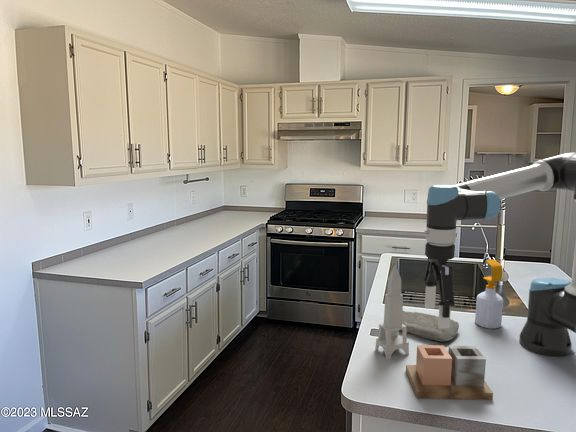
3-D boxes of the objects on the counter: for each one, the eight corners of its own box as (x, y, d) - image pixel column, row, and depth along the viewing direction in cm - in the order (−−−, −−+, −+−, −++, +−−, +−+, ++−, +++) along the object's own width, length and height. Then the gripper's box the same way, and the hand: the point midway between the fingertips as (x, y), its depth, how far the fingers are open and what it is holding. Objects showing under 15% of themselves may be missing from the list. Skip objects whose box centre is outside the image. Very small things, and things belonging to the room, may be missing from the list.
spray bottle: (489, 317, 170) (494, 256, 166) (506, 327, 161) (512, 263, 157) (469, 320, 168) (474, 258, 163) (486, 330, 159) (491, 265, 155)
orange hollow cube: (442, 370, 128) (443, 345, 127) (450, 385, 121) (452, 358, 119) (415, 370, 129) (417, 345, 127) (422, 384, 121) (423, 358, 120)
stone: (462, 320, 158) (449, 335, 146) (461, 332, 159) (449, 348, 147) (394, 305, 173) (378, 317, 161) (394, 315, 174) (378, 328, 162)
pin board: (473, 372, 131) (475, 341, 129) (492, 399, 117) (495, 365, 116) (405, 370, 132) (407, 340, 130) (417, 398, 118) (418, 364, 117)
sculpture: (375, 349, 146) (377, 262, 140) (396, 345, 149) (399, 259, 143) (386, 358, 139) (390, 268, 134) (408, 354, 142) (412, 265, 137)
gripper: (415, 232, 130) (412, 300, 134) (439, 255, 105) (435, 337, 109) (440, 232, 130) (437, 300, 133) (471, 255, 105) (466, 337, 109)
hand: (436, 317), depth 121 cm, fingers open, 13 cm apart
